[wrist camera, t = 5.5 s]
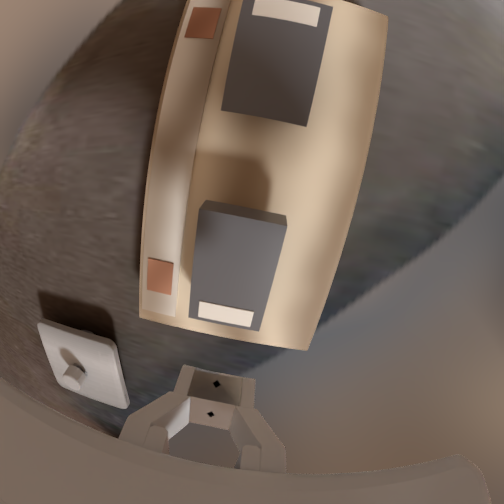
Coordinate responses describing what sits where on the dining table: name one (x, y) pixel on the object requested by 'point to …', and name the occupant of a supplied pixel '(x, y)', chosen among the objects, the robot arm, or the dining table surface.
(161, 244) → the switch panel
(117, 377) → the light switch
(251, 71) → the plate
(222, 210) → the plate
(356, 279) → the dining table surface
